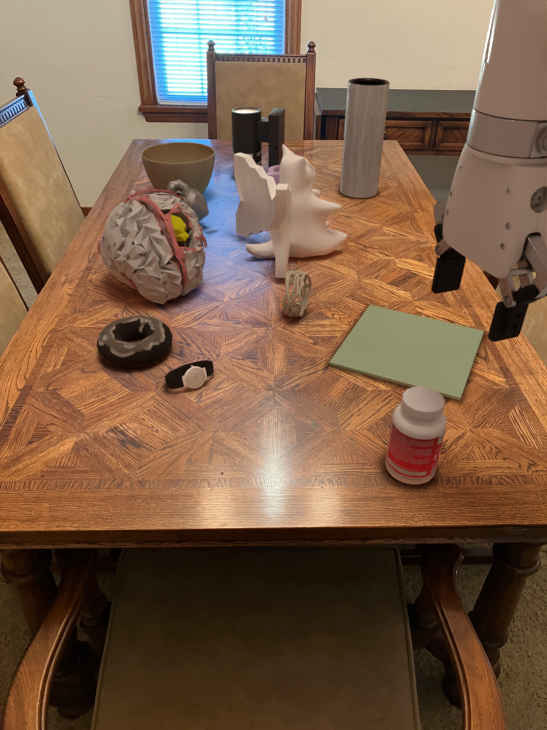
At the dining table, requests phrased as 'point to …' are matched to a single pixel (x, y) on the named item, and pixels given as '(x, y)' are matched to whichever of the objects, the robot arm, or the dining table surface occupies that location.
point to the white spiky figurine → (284, 210)
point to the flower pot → (179, 164)
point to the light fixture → (258, 133)
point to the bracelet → (302, 304)
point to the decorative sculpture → (154, 245)
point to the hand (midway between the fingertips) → (472, 312)
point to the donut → (134, 341)
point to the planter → (363, 136)
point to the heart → (190, 198)
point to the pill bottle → (416, 436)
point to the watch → (189, 375)
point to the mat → (410, 351)
